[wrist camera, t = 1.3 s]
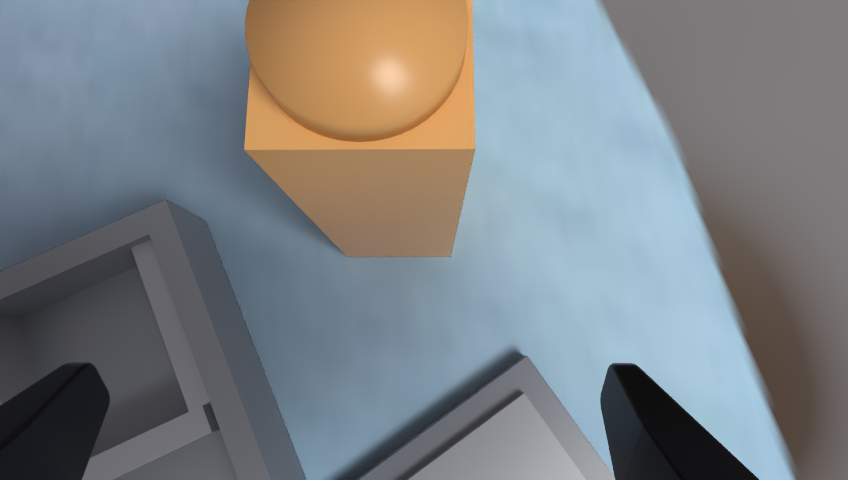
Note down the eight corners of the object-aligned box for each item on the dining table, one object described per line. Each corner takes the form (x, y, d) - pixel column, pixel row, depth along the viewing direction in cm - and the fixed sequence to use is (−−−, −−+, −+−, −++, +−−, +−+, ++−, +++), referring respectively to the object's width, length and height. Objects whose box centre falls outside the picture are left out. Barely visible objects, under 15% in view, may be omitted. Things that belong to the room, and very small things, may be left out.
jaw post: (450, 256, 22) (478, 131, 9) (346, 256, 22) (227, 133, 9) (449, 157, 23) (474, -84, 10) (349, 158, 23) (245, -82, 10)
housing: (328, 537, 20) (307, 577, 17) (-126, 763, 19) (-250, 857, 15) (205, 221, 23) (165, 199, 19) (-201, 400, 21) (-322, 411, 18)
